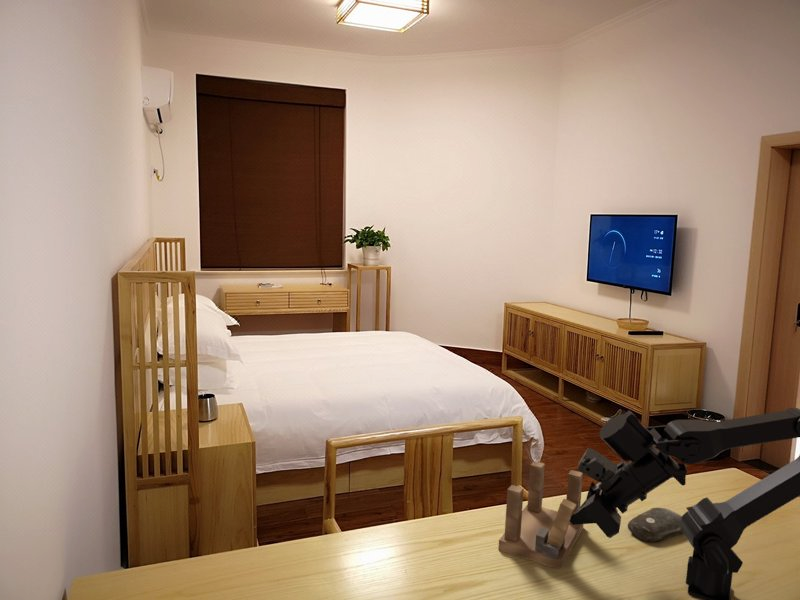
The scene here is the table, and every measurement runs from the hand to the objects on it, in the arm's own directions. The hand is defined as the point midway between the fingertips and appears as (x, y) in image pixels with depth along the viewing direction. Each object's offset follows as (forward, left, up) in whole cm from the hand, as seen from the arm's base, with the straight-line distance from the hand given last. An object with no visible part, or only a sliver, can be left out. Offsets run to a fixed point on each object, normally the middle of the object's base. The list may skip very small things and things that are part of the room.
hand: (571, 521), depth 109 cm
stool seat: (+7, -7, -9) cm, 13 cm away
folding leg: (+3, 0, -5) cm, 6 cm away
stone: (-12, -24, -9) cm, 28 cm away
